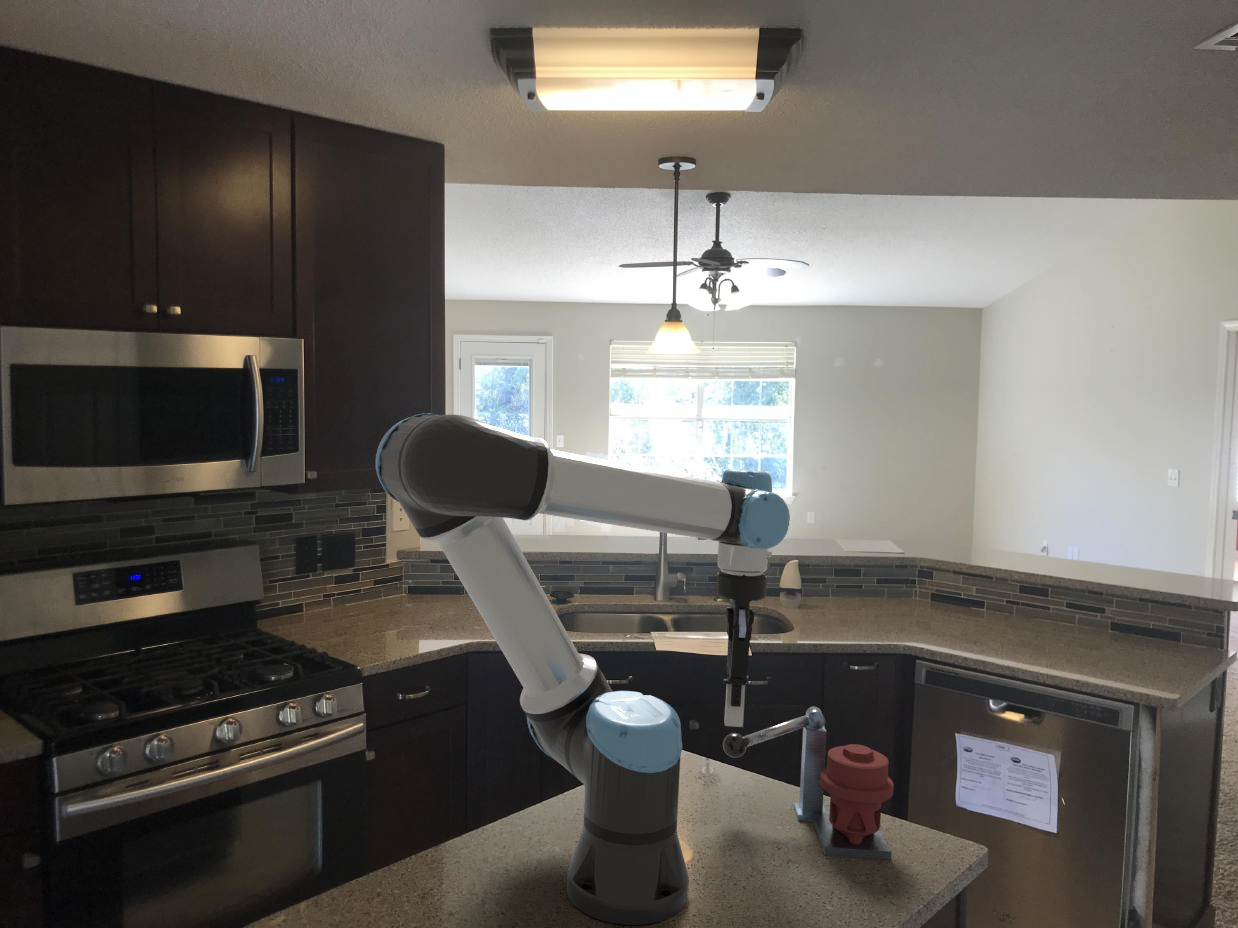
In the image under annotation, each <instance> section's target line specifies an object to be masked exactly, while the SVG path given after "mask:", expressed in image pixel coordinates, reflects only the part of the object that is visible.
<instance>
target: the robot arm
mask: <svg viewBox="0 0 1238 928" xmlns="http://www.w3.org/2000/svg"><path fill="white" fill-rule="evenodd" d="M375 471H376V475H377V478H378V481H379V483H380V485H381V486H382V488H383V490H384V491H385V492H386V493H387V495H389V497H390V498H391V499H393V500H394V501H396V502H398V503H399V504H400V506H401V508H402V509H403V511H404V513H405V514H406V516H407V518H408V519H409V521H410V522H411V524H412V526H413V528H414V530H415V531H416V532H417V534H418V536H419V537H420V539H421V540H425V541H429V542H433V543H437V544H438V545H439V547H440V548H441V550H442V552H443V554H444V555H445V557H446V559H447V560H448V562H449V564H450V566H451V567H452V569H453V570H454V572H455V573H456V576H457V577H458V578H459V581H460V583H461V584H462V586H463V587H464V589H465V590H466V593H467V594H468V596H469V598H470V599H471V601H472V603H473V604H474V606H475V607H476V610H478V613H479V614H480V616H481V618H482V619H483V622H485V625H486V626H487V628H488V630H489V631H490V633H491V635H492V637H493V639H494V640H495V642H496V643H497V645H498V646H499V648H500V650H501V652H502V653H503V655H504V657H505V658H506V660H507V662H508V664H509V666H510V667H511V669H512V670H513V672H514V675H516V677H517V680H518V681H519V682H520V684H521V686H522V687H523V688H522V690H521V694H520V696H519V702H520V703H519V704H520V707H521V708H522V710H523V713H525V716H526V722H527V725H528V729H529V733H530V735H531V736H532V738H533V740H534V742H535V743H536V745H537V746H538V747H539V749H540V750H541V751H542V752H543V753H544V754H545V755H547V756H548V757H549V758H551V759H552V760H554V761H556V762H557V763H559V764H560V765H561V766H563V768H565V769H566V770H567V771H568V772H569V773H570V774H572V775H573V776H574V777H575V778H576V779H577V780H578V781H580V782H581V783H582V784H583V786H584V803H583V804H584V805H583V824H582V825H583V826H582V830H581V832H580V835H579V838H578V840H577V844H576V846H575V849H574V851H573V855H572V857H571V860H570V862H569V866H568V869H567V876H566V878H567V879H566V893H567V896H568V899H569V900H570V902H571V903H572V904H573V906H575V908H577V909H578V910H579V911H580V912H582V913H583V914H586V916H589V917H591V918H594V919H595V920H600V921H602V922H606V923H610V924H617V925H623V926H627V925H628V926H637V925H638V926H639V925H649V924H654V923H659V922H661V921H665V920H667V919H669V918H671V917H674V916H675V915H676V914H678V913H679V912H680V911H682V909H684V907H685V906H686V904H687V902H688V899H689V882H690V879H689V878H690V877H689V871H688V869H687V865H686V862H685V861H686V860H685V857H684V854H683V850H682V847H681V844H680V840H679V835H678V811H679V795H680V792H679V791H680V772H681V771H680V770H681V769H680V768H681V754H682V751H683V741H682V730H681V729H682V728H681V727H682V726H681V725H682V724H681V720H680V717H679V715H678V713H677V711H676V709H674V708H673V707H672V706H671V705H670V704H668V703H667V702H666V701H664V700H662V699H660V698H658V697H656V696H653V695H651V694H649V695H648V694H647V695H644V694H643V693H642V692H638V691H631V690H616V691H613V690H612V688H611V686H610V685H609V683H608V681H607V679H606V677H605V675H604V674H603V672H602V670H601V668H600V667H599V665H598V663H597V662H596V660H595V658H594V657H592V656H591V655H588V654H584V653H579V652H578V649H577V648H576V647H575V644H574V643H573V641H572V639H571V638H570V636H569V634H568V632H567V630H566V629H565V627H564V625H563V623H562V621H561V619H560V617H559V616H558V614H557V612H556V611H555V609H554V607H553V605H552V604H551V603H552V602H550V600H549V598H548V596H547V594H546V593H545V590H544V589H543V587H542V586H541V584H540V582H539V580H538V577H537V576H536V574H535V573H534V571H533V569H532V568H531V566H530V564H529V562H528V561H527V558H526V556H525V555H524V552H522V550H521V548H520V546H519V545H518V543H517V541H516V538H515V537H514V535H513V533H512V531H511V530H510V528H509V526H508V524H507V522H506V521H505V519H507V518H508V519H514V520H521V521H530V520H532V519H533V518H535V517H536V516H537V515H538V514H540V515H547V516H554V517H559V518H560V517H561V518H567V519H573V520H579V521H587V522H593V523H600V524H605V525H612V526H619V527H625V528H631V529H638V530H644V531H651V532H658V533H662V534H672V535H676V536H677V535H678V536H684V537H690V538H696V539H697V538H698V539H703V540H711V541H713V542H718V549H717V567H718V568H719V569H720V570H719V571H718V572H717V575H716V590H715V591H716V594H717V596H718V597H719V598H720V597H721V598H723V599H727V600H731V602H730V603H731V604H730V605H731V606H726V610H725V617H726V619H727V622H726V634H727V637H728V638H727V656H726V657H727V658H726V659H727V660H726V661H727V662H726V667H725V670H726V672H727V673H726V678H723V685H726V686H725V689H726V691H725V705H724V706H725V707H724V726H725V727H734V728H736V727H737V728H744V714H745V713H744V712H745V697H746V694H745V693H746V685H747V683H748V681H749V680H750V678H749V675H748V669H749V668H748V667H749V658H750V656H749V654H750V644H751V642H750V641H751V640H752V632H753V624H754V621H755V612H754V611H753V608H751V607H750V602H753V601H755V602H759V601H762V600H764V599H766V597H767V584H768V583H767V582H768V576H767V574H765V573H764V572H766V571H768V565H769V564H768V562H769V560H768V559H767V558H772V557H773V552H772V551H771V550H770V549H773V548H774V547H776V546H777V545H779V544H781V542H782V541H783V540H784V539H785V538H786V536H787V534H788V532H789V526H790V519H791V517H790V516H791V515H790V510H789V507H788V504H787V503H786V502H785V500H784V499H783V498H782V497H781V496H780V495H778V494H777V493H775V492H773V483H772V482H773V481H772V480H773V478H772V476H771V475H770V473H768V472H766V471H762V470H748V469H726V470H724V471H723V474H722V479H721V480H720V481H719V482H716V481H711V480H706V479H702V478H696V477H693V476H687V475H683V474H682V475H681V474H677V473H671V472H667V471H661V470H658V469H657V470H656V469H652V468H647V467H642V466H637V465H631V464H628V463H621V462H617V461H611V460H608V459H601V458H597V457H591V456H588V455H583V454H582V455H581V454H577V453H572V452H566V451H561V450H557V449H551V448H550V447H549V445H548V444H547V441H545V439H543V438H541V437H537V436H532V435H527V434H523V433H519V432H516V431H512V430H509V429H506V428H503V427H499V426H496V425H493V424H491V423H488V422H485V421H483V420H479V419H476V418H472V417H470V416H466V415H461V414H435V413H432V412H431V413H430V412H429V413H428V412H427V413H425V412H424V413H418V414H414V415H412V416H410V417H406V418H405V419H402V420H400V421H399V422H397V423H395V424H394V425H393V426H392V427H390V429H388V430H387V431H386V433H385V434H384V435H383V437H382V438H381V440H380V442H379V444H378V447H377V451H376V454H375ZM504 518H505V519H504Z"/></svg>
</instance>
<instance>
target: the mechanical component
mask: <svg viewBox="0 0 1238 928" xmlns="http://www.w3.org/2000/svg"><path fill="white" fill-rule="evenodd" d="M826 764H827V765H826V767H825V769H824V770H822V772H821V778H820V784H821V786H822V787H823V788H824V791H825V792H826V793H828V794H829V795H830V799H829V811H830V814H829V821H830V823H831V824H832V827H833V828H834V829H836V830H838V831H840V832H841V833H843V834H844V835H845V836H846V837H847V838H848V839H849V841H850V842H851V843H852V844H855V845H859V844H861V843H862V839H863V838H864V837H865V836H867V835H870V834H873V833H875V832H877V831H878V830H879V829H880V830H881V819H882V817H881V815H882V814H881V813H882V803H884V802H887V801H889V800H890V799H891V798H892V797H893V796H894V781H893V780H892V779H891V778H890V777H889V759H888V757H886V756H885V755H884V754H883V753H880V752H879V751H877V750H874V749H871V748H870V747H868V746H866V745H862V744H855V743H854V744H853V743H851V744H847V745H839V746H835V747H833V748H830V749H829V750H828V751H827V763H826Z"/></svg>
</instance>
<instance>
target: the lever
mask: <svg viewBox="0 0 1238 928" xmlns="http://www.w3.org/2000/svg"><path fill="white" fill-rule="evenodd" d="M825 724H826V718H825V716H824V714H823V713H822V710H821V709H820V708H819V707H817V706H810V707H808V708H807V709H806V711H805V715H803V716H799V717H795V718H793V719H789V720H788V721H787V720H786V721H785V722H782V723H779V724H776V725H773V726H770V727H766V728H763V729H762V730H759V731H756V732H753V733H750V734H746V735H744V736H743V735H741V734H740V733H737V732H732V733H729V734H727V735H726V736H725V737H724V739H723V742H722V748H723V751H724V753H725V754H726V755H727V756H728V757H730V758H733V759H737V758H741V757H742V756H743V755H744V754H745V753H746V751H747V748H749V747H751V746H754V745H758V744H760V743H763V742H766V741H768V740H772V739H774V738H777V737H781V736H783V735H785V734H789V733H792V732H795V731H798V730H800V729H803V728H804V727H807V726H811V727H812V728H814V729H820V728H822V727H823V726H824V727H825Z"/></svg>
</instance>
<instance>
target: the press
mask: <svg viewBox="0 0 1238 928" xmlns="http://www.w3.org/2000/svg"><path fill="white" fill-rule="evenodd" d="M827 732H828V731H827V729H826V727H825V725H824V726H823V727H822V728H820V729H814V728H812V727H811V726H807V727H804V728H802V744H801V745H802V747H801V749H802V750H801V761H800V762H801V764H800V765H801V766H800V767H801V768H800V781H799V782H800V785H799V787H800V788H799V801H798V802H797V801H796V802H793V809H794V812H795V814H796V818H797V821H804V822H805V821H807V822H812V823H813V825H814V829H815V831H816V834H817V837H818V840H819V843H820V845H821V849H822V851H823V854H824V856H829V857H843V858H855V859H867V860H869V859H870V860H882V861H884V860H885V861H892V853H893V851H892V849H891V848H890V846H889V844H888V842H887V840H886V838H885V836H884V834H883V832H882V831H881V828H880V829H879V830H878V831H877V832H875V833H873V834H870V835H867V836H865V837H864V838H863V839H862V843H861V844H859V845H855V844H852V843H851V842H850V841H849V839H848V838H847V837H846V836H845V835H844V834H843V833H841V832H840V831H838V830H836V829H834V828H833V827H832V824H831V823H830V821H829V814H830V810H826V808H825V806H824V791H825V790H824V788H823V787H822V786H821V784H820V778H821V772H822V770H824V769H825V768H826V751H827V749H826V748H827V734H828V733H827Z"/></svg>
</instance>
